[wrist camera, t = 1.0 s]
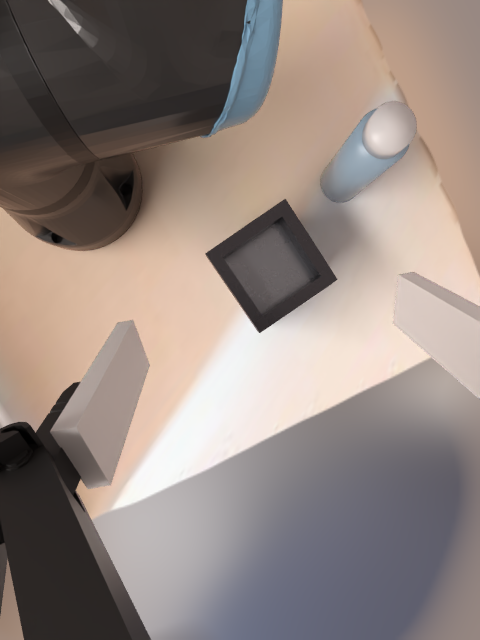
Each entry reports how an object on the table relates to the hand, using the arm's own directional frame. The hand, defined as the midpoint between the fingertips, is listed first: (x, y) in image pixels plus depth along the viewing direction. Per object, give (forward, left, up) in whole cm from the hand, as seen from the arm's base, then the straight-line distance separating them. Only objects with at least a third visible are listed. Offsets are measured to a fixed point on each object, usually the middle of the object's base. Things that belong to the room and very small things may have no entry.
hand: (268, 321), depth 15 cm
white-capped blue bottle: (-6, +19, -22) cm, 30 cm away
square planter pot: (-2, +4, -22) cm, 23 cm away
